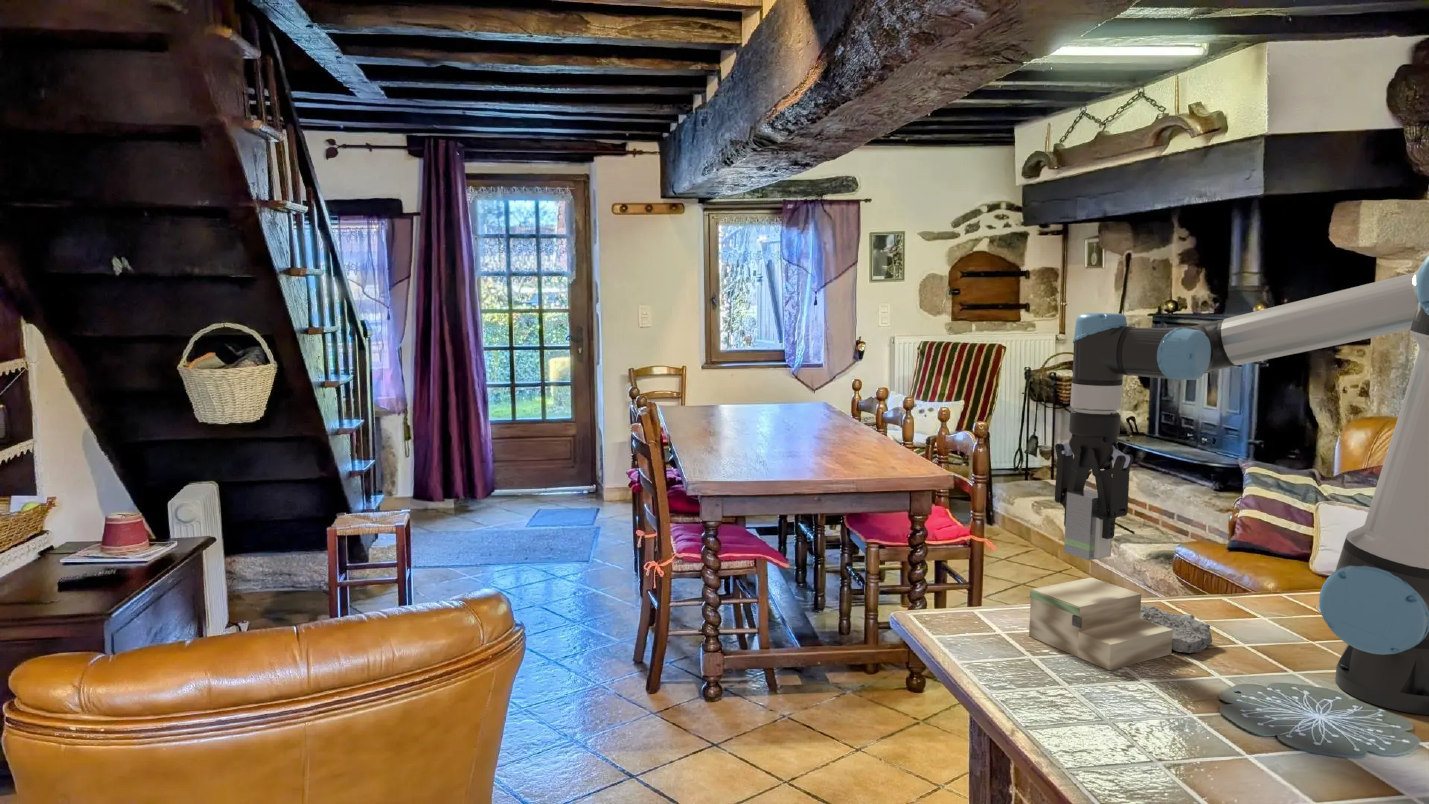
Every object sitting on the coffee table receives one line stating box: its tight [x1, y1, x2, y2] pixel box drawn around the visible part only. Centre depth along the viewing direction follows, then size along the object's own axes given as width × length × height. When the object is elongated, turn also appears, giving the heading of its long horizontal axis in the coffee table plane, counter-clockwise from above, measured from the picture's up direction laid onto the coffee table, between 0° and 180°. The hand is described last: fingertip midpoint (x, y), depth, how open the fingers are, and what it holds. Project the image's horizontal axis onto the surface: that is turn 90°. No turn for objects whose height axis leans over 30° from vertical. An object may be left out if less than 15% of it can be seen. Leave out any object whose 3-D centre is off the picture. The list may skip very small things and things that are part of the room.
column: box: [1063, 489, 1113, 561], centre depth 155 cm, size 5×5×10 cm
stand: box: [1028, 576, 1173, 671], centre depth 154 cm, size 16×14×8 cm
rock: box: [1140, 604, 1213, 654], centre depth 157 cm, size 13×10×5 cm
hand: (1087, 552), depth 155 cm, fingers closed on column, 5 cm apart
